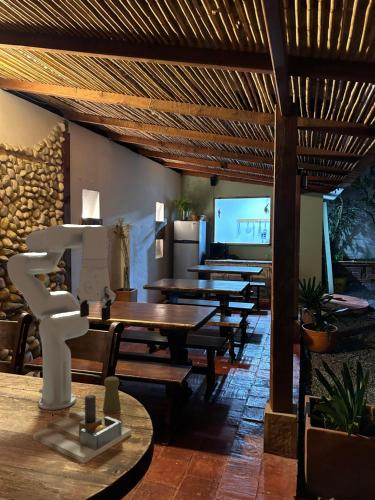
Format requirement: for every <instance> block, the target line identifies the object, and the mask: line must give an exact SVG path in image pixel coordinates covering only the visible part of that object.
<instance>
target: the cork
mask: <svg viewBox="0 0 375 500" xmlns="http://www.w3.org/2000/svg"><path fill="white" fill-rule="evenodd" d="M103 386H104V388H105V389H104V390H105V391H104V398H103V399H104V400H103V408H102V412H103V413H105V414H116V413H118V412H120V411H121V410H122V407H121V401H120V395H119V393H120V392H119V386H120V379H119V378H118V377H117V376H108V377H106V378H105V379H104V381H103Z"/></svg>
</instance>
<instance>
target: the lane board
mask: <svg viewBox="0 0 375 500" xmlns="http://www.w3.org/2000/svg"><path fill="white" fill-rule="evenodd" d="M96 417H97V418H100V419H102V425H104V419H103V418H101V417H98V416H96ZM83 420H85V411H82V410H80V411H79V412H77V413H75V412H72V411H70V412H68V417H65V418H63V419H61V420H59V421H57V422H55V423H54V422H51V421H48V422H47V424H46V427H45V428H42V429H40V430H38V431H37V432H34V433H33V434H32V439H33V440H35V441H37V442H39V443H41V444H42V445H45V446H47V447H49V448H51V449H53V450H55V451H58V452H60V453H61V454H63V455H66V456H68V457H70V458H72V459H75V460H76V461H78V462H80V463H82V464H86V463H87V462H88V461H90V460H92V459H94V458H96V457H97V456H98V455H100V454H102V453H103V452H106V450H108V449H110V448H111V447H113V446H114V445H117V444H119V443H120V442H121V441H123V440H124V439H126V438H127V437H129V436H131V435H132V429H131V428H129V427H126V426H122V435H121V436H119V437H118V438H116V439H114V440H113V441H111V442H109V443H108V444H106V445H104V446H103V447H101V448H99V449H98V450H96V451H95V450H93V449H90V448H88V447H86V446H84V445H81V436H80V434H79V422H81V421H83Z"/></svg>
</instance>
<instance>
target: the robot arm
mask: <svg viewBox="0 0 375 500" xmlns="http://www.w3.org/2000/svg"><path fill="white" fill-rule="evenodd" d="M107 239H108V238H107V228H106V226H105V225H97V224H95V225H93V224H92V225H88V224H87V225H85V224H83V225H81V224H80V225H79V224H59V225H52V226H51V225H50V226H48V227H47V228H46V229H39V230H35V231H32V232H31V233H29V234H28V235H27V236H26V238H25V241H24V242H25V246H26V248H27V249H28V251H30V252H22V253H17V254H14V255H12V256H11V257H10V258H9V259H8V261H7V265H6V269H7V274H8V277H9V279H10V282H11V283H12V285H13V286H14V287H15V289H17V290H18V292H19V293H21V295H22V297H23V298H24V300H25V302H26V304H27V306H28V307H29V310H30V311H31V312H32V314H33V315H34V316H35V317H36V318H37V319H39V320H40V322H39V325H38V331H39V332H38V333H39V336H40V342H41V349H42V350H41V351H42V387H41V388H40V389H39V390H38V392H39V393H40V394H41V398H39V400H38V406H39V407H40V409H43V410H46V411H47V410H50V411H54V410H62V409H65V408H68V407H71V406H72V405H73V404H75V402H76V401H77V400H76V399H77V396H76V395H75V394H74V393H72V357H71V356H72V354H71V349H70V347H69V345H67V344H66V342H65V341H66V340H69V339H74V338H78V337H82V336H84V335H85V334H86V333H87V332H88V331H89V328H90V323H89V322H90V321H89V318H88V317H89V315H90V303H89V302H96V303H97V302H100V304H101V306H102V307H101V310H100V311H101V313H100V314H101V315H100V316H101V321H103V322H105V321H109V320H111V308H112V306H113V304H114V303H115V299H116V296H117V294H116V293H115V292H114V291H113V290H111V287H110V286H111V284H110V275H109V270H108V267H107V266H108V260H107V259H108V257H107V255H108V254H107V252H108V251H107V249H108V248H107V247H108V246H107V244H108V243H107ZM66 249H81V250H82V252H81V253H82V254H81V256H82V257H81V258H82V262H81V264H82V268H80V271H79V272H80V273H79V279H78V288H77V289H75V291H74V292H75V295H76V298H75V296H74V295H73V294H72V293H71V292H69V291H65V290H57V291H50V290H49V289H48V288H47V287H46V284H45V283H43V281H42V280H40V279H39V278H37V277H36V276H35V275H44V274H45V275H46V274H50V273H52V272H54V271H55V269H56V268H57V267H58V266H57V265H58V264H59V263H60V261H61V258H62V257H63V255H64V253H65V252H66Z"/></svg>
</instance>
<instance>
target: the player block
mask: <svg viewBox="0 0 375 500" xmlns="http://www.w3.org/2000/svg"><path fill="white" fill-rule="evenodd" d="M96 397H97V396H96V395H94V394H89V395H86V396H85V397H84V412H85V420H83V421H81V422H79V434H80V430H81V429H86V430H88V431H90V432H93V433H94V431H95V429H96V428H97V427H98V426H99V425H102V419H103V418H101V417H99V418H97V417H98V416H97V414H96V410H97V409H96ZM100 418H101V419H100Z"/></svg>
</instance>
